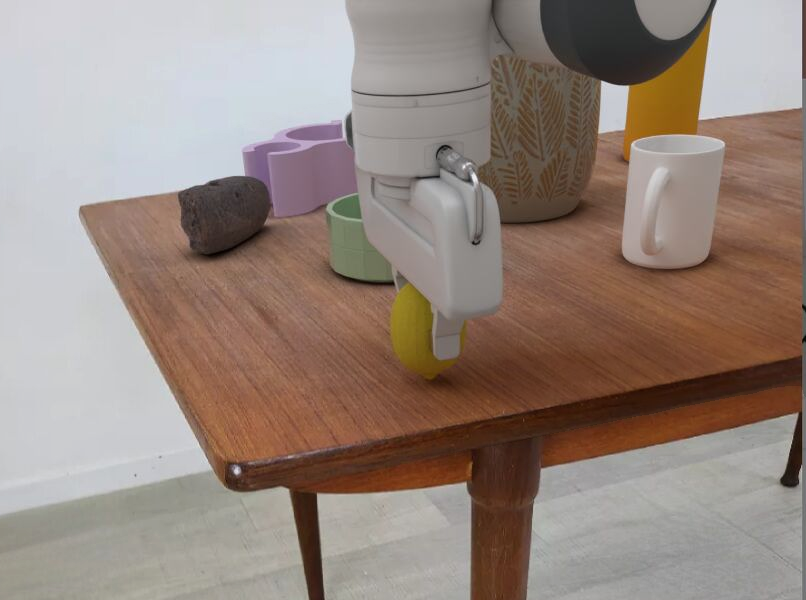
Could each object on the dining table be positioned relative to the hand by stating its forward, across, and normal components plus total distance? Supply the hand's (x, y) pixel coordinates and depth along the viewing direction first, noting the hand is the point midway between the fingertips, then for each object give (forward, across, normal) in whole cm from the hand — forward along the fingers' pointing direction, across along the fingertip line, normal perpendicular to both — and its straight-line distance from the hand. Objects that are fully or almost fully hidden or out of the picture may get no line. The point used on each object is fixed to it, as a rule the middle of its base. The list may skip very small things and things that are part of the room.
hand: (428, 338), depth 69 cm
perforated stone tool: (+4, +43, +8) cm, 44 cm away
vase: (+4, +42, -25) cm, 49 cm away
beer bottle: (+4, +56, -51) cm, 76 cm away
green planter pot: (+3, +28, -5) cm, 28 cm away
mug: (+4, +18, -29) cm, 34 cm away
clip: (+4, +59, -5) cm, 59 cm away
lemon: (+3, 0, 0) cm, 3 cm away
